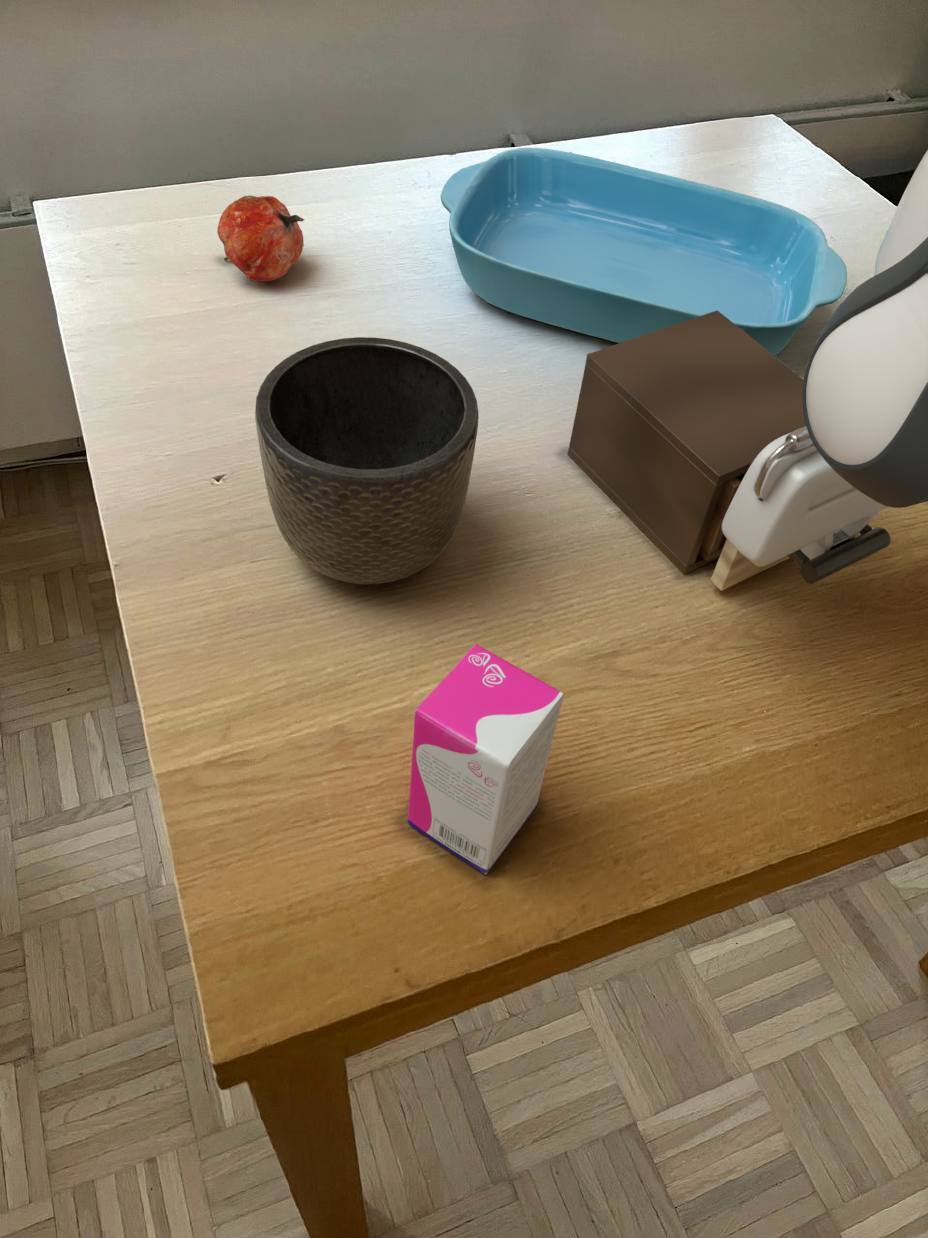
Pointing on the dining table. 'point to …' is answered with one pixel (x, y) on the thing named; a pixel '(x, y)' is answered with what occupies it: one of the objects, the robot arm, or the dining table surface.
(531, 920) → the dining table surface
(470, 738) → the supplement box
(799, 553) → the drawer
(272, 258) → the pomegranate
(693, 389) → the cabinet
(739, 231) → the casserole dish
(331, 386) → the planter
